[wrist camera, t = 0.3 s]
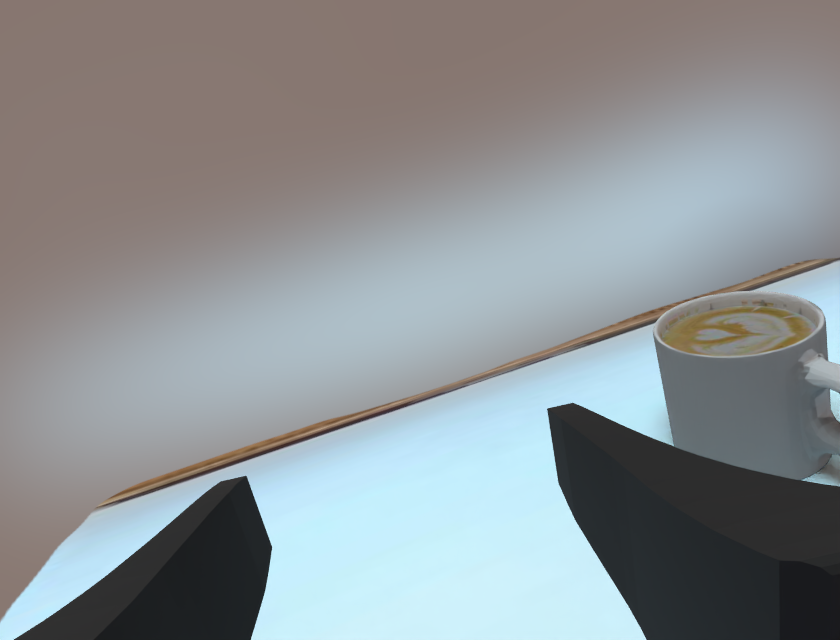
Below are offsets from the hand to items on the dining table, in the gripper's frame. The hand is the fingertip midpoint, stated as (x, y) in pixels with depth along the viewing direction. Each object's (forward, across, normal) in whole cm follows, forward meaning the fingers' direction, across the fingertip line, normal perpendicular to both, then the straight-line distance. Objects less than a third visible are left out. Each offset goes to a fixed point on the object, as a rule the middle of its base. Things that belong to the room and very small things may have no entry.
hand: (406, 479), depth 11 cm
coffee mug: (+20, -24, +17) cm, 35 cm away
